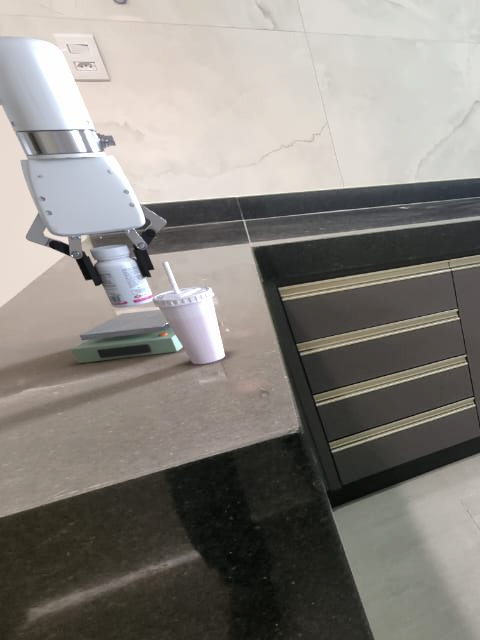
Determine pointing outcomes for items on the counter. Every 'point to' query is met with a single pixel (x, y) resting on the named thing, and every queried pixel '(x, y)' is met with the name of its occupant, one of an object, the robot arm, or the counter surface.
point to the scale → (127, 346)
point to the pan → (129, 325)
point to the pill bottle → (121, 276)
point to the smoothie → (192, 320)
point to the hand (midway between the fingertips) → (122, 278)
